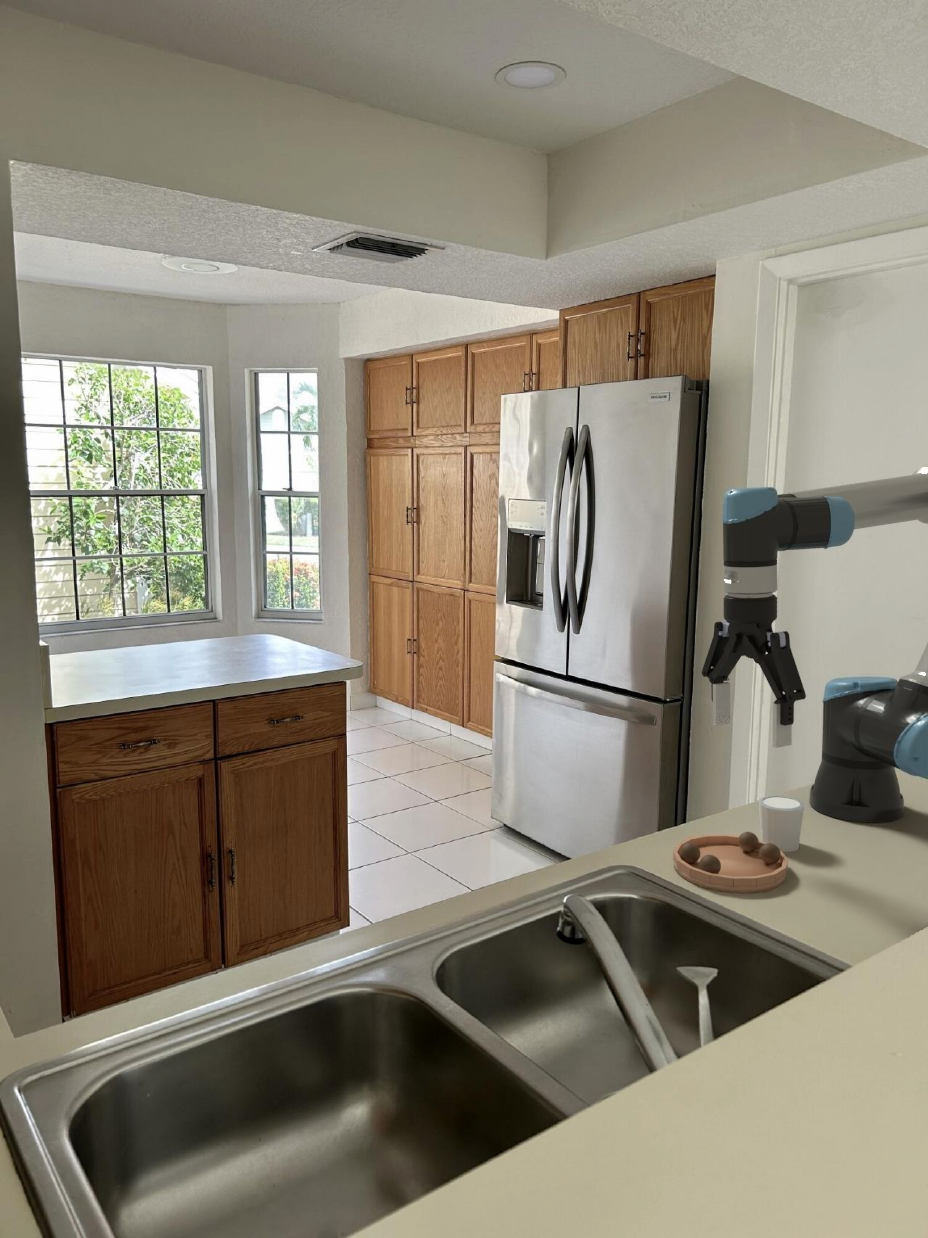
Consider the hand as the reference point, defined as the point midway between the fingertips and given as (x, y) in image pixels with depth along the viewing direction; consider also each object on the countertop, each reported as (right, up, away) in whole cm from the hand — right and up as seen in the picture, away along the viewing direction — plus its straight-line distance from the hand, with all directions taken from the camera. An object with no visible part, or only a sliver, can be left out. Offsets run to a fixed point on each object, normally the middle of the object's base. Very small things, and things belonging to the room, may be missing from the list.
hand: (750, 734), depth 137 cm
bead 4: (+2, -17, -2) cm, 17 cm away
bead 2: (-8, -18, -6) cm, 20 cm away
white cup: (+7, -18, +7) cm, 21 cm away
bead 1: (-9, -17, -1) cm, 20 cm away
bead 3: (0, -17, +2) cm, 17 cm away
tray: (-4, -20, -2) cm, 20 cm away
